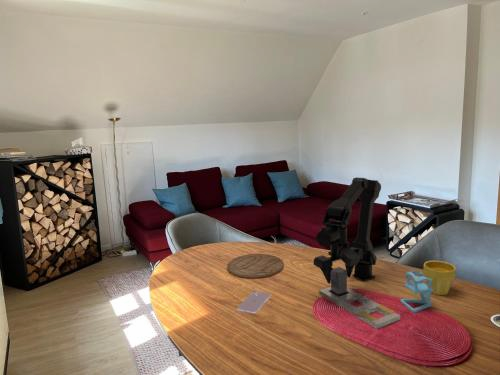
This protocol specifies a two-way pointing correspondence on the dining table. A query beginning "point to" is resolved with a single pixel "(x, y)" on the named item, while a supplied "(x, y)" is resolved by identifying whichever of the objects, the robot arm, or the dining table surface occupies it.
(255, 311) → the mobile phone
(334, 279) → the steel peg
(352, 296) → the grey slotted board
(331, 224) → the robot arm
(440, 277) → the plant pot
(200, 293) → the dining table surface
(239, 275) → the trivet
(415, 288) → the light blue stand
